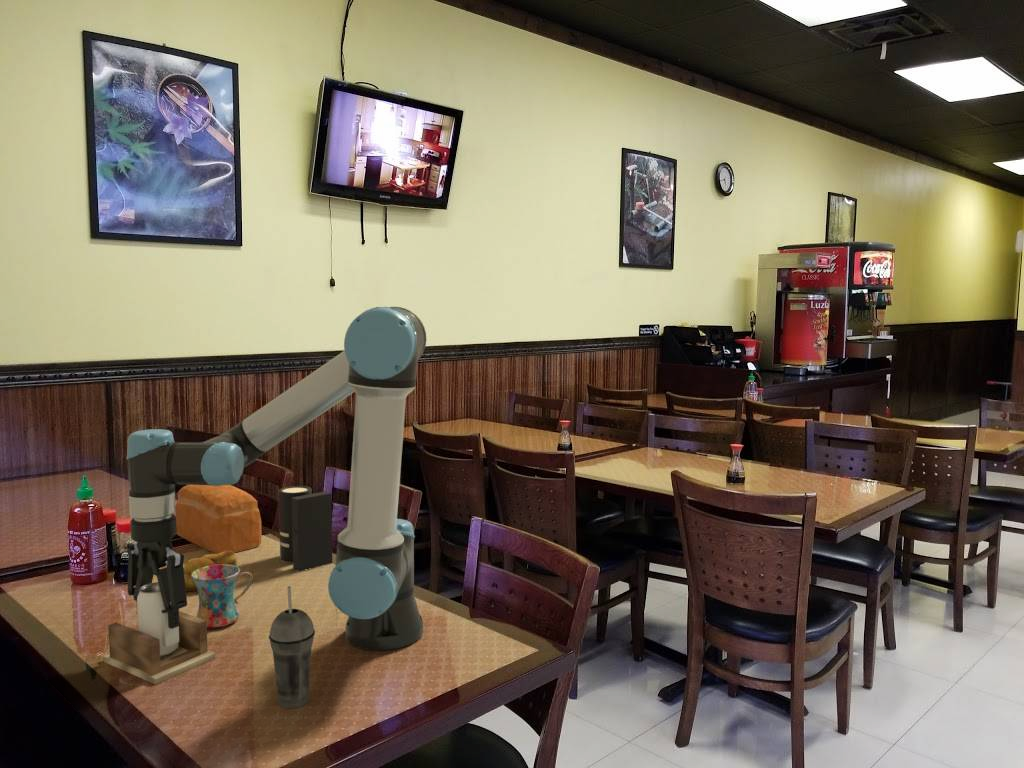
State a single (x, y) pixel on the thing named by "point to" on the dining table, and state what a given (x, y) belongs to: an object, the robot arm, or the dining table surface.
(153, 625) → the can
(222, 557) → the ginger root
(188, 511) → the bread
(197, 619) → the caddy
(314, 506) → the light fixture
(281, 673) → the beverage cup
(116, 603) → the dining table surface
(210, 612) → the mug
